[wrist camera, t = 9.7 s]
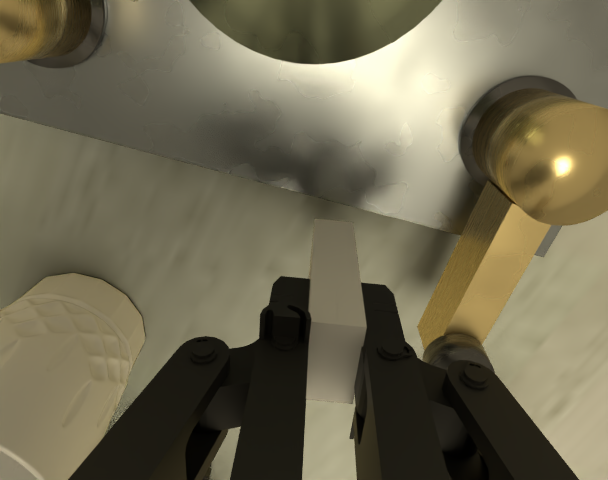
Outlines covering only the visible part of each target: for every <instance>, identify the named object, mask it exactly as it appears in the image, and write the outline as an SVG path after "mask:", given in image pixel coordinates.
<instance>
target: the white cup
mask: <svg viewBox="0 0 608 480" xmlns="http://www.w3.org/2000/svg"><path fill="white" fill-rule="evenodd" d="M144 342H145V332H144V326H143V320H142V316H141V315H140V313H139V312H138V310H137V309H136V308H135V306H134V305H133V304H132V302H131V301H130V299H129V298H128V297H127V296H126V295H125V294H124V293H122V292H121V291H119V290H117V289H116V288H114V287H113V286H111V285H110V284H108V283H107V282H105V281H103V280H102V279H98V278H94V277H89V276H85V275H81V274H77V273H68V274H62V275H55V276H49V277H45V278H44V279H43V280H41V281H40V282H39V283H38V284H36V285H35V286H34V287H33V288H31V289H30V290H29V291H28V292H26V293H25V294H24V295H23V296H21V297H20V298H19V299H18V300H16V301H15V302H13V303H12V304H10V305H9V306H7V307H5V308H3V309H0V480H68V479H69V478H70V477H71V475H72V474H73V473H74V472H75V471H76V469H77V468H78V467H79V466H80V465H81V463H82V462H83V461H84V460H85V459H86V458H87V456H88V455H89V454H90V453H91V452H92V450H93V449H94V448H95V447H96V446H97V445H98V443H99V442H100V441H101V440H102V439H103V437H104V435H105V433H106V431H107V428H108V426H109V423H110V420H111V418H112V416H113V414H114V412H115V410H116V409H117V406H118V404H119V401H120V399H121V396H122V394H123V392H124V390H125V388H126V386H127V382H128V377H129V375H130V372H131V369H132V367H133V365H134V363H135V361H136V359H137V357H138V355H139V353H140V350H141V348H142V346H143V344H144Z"/></svg>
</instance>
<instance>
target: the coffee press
mask: <svg viewBox="0 0 608 480" xmlns="http://www.w3.org/2000/svg"><path fill="white" fill-rule="evenodd" d="M210 473H211V468H208V470H207V472H206V474H205V476H204V477H203V479H202V480H209V477H210Z"/></svg>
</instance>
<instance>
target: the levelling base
mask: <svg viewBox="0 0 608 480" xmlns="http://www.w3.org/2000/svg"><path fill="white" fill-rule="evenodd" d="M90 2H91V11H92V15H91V24H90V28H89V32H88V34H87V36H86V38H85V40H84V41H83V43H82V44H81V45H80V46H79V47H78V48H77V49H76V50H74V51H73V52H71V53H69V54H66V55H63V56H57V57H49V58H41V59H33V60H24V61H16V62H8V63H0V113H1V114H4V115H8V116H12V117H16V118H20V119H23V120H27V121H31V122H35V123H38V124H42V125H46V126H50V127H54V128H57V129H61V130H65V131H69V132H72V133H76V134H80V135H84V136H88V137H91V138H95V139H99V140H103V141H106V142H110V143H114V144H118V145H122V146H125V147H129V148H133V149H137V150H140V151H144V152H148V153H152V154H156V155H159V156H163V157H167V158H171V159H174V160H178V161H182V162H186V163H190V164H193V165H197V166H201V167H205V168H208V169H212V170H216V171H220V172H224V173H227V174H231V175H235V176H239V177H242V178H246V179H250V180H254V181H258V182H261V183H265V184H269V185H273V186H276V187H280V188H284V189H288V190H292V191H295V192H299V193H303V194H307V195H310V196H314V197H318V198H322V199H326V200H329V201H333V202H337V203H341V204H344V205H348V206H352V207H356V208H360V209H363V210H367V211H371V212H375V213H378V214H382V215H386V216H390V217H393V218H397V219H401V220H405V221H409V222H412V223H416V224H420V225H424V226H427V227H431V228H435V229H439V230H443V231H446V232H450V233H454V234H458V235H462V232H463V230H464V228H465V226H466V224H467V222H468V220H469V218H470V216H471V214H472V212H473V210H474V208H475V205H476V203H477V201H478V199H479V197H480V195H481V193H482V191H483V189H484V187H485V185H486V183H487V181H488V180H489V181H491V180H490V179H489V178H488V177H487V176H486V175H485V174H484V173H483V172H482V171H481V170H480V168H479V167H478V166H477V164H476V162H475V159H474V156H473V151H472V141H473V135H474V131H475V128H476V126H477V124H478V122H479V120H480V118H481V117H482V115H483V114H484V113H485V111H486V110H487V109H488V108H489V107H490V106H491V105H492V104H493V103H494V102H496V101H497V100H498V99H500V98H501V97H503V96H505V95H507V94H509V93H511V92H514V91H517V90H521V89H527V88H537V89H543V90H547V91H550V92H553V93H557V94H560V95H563V96H567V97H570V98H573V99H576V100H580V101H583V102H586V103H590V104H593V105H596V106H600V107H603V108H606V109H608V0H90ZM561 227H562V226H558V225H551V226H550V228H549V230H548V232H547V233H546V235H545V237H544V239H543V240H542V242H541V244H540V245H539V247H538V249H537V251H536V252H535V254H534V255H537V256H541V257H544V256H545V254H546V252H547V251H548V249H549V247H550V246H551V244H552V242H553V241H554V239H555V237H556V236H557V234H558V232H559V230H560V229H561Z"/></svg>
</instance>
